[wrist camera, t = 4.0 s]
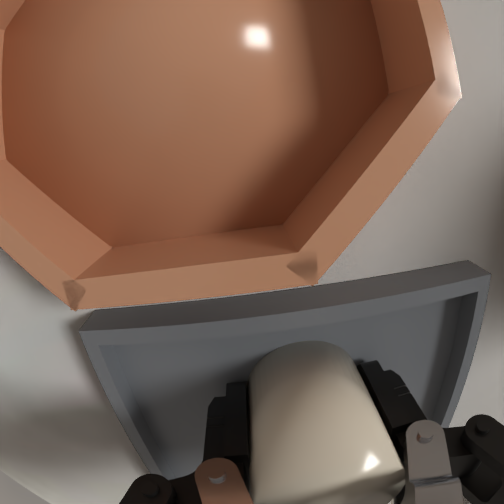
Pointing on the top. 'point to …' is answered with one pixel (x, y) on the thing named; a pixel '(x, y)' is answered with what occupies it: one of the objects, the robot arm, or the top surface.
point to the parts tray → (275, 336)
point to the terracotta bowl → (207, 138)
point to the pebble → (317, 431)
